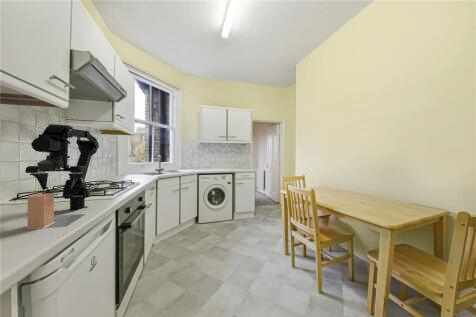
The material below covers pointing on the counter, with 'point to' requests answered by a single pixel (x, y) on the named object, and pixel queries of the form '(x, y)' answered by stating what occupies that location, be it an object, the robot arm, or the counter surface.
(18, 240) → the counter surface
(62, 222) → the baseplate
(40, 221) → the column
